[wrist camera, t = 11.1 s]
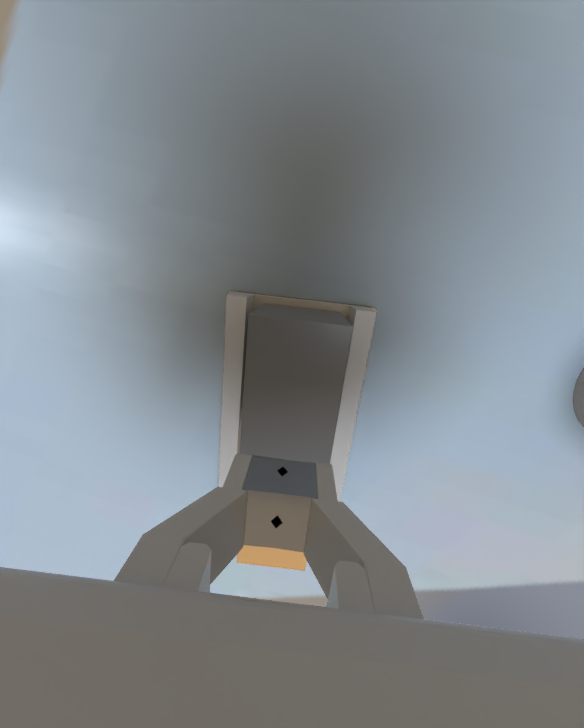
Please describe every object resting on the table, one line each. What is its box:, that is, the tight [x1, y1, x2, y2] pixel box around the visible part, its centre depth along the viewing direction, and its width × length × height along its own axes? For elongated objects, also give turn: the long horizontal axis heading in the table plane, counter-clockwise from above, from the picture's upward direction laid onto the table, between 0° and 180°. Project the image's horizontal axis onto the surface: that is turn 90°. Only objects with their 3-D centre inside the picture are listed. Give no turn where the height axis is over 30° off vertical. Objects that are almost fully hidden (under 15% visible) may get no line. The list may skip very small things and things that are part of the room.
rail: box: [218, 291, 377, 571], centre depth 20 cm, size 18×10×6 cm, turn 174°
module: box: [240, 303, 353, 464], centre depth 18 cm, size 8×5×6 cm, turn 174°
